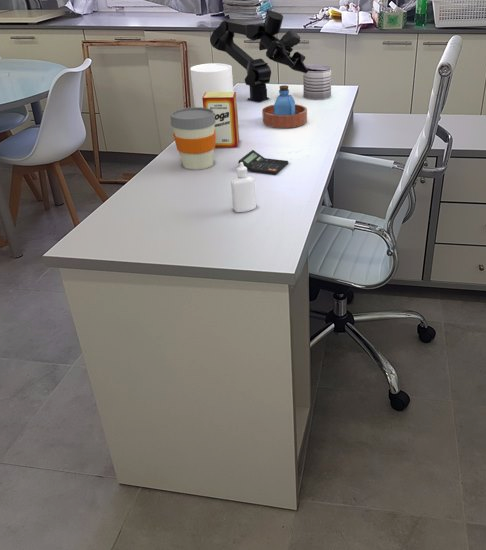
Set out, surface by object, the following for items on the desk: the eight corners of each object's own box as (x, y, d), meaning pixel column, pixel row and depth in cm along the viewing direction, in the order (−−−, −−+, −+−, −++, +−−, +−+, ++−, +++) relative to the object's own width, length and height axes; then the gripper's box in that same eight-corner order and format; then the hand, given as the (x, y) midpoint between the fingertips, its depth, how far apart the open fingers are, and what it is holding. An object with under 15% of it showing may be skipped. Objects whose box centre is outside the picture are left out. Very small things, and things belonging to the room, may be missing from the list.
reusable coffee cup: (226, 158, 171) (222, 108, 163) (207, 173, 161) (201, 121, 153) (189, 154, 175) (183, 105, 167) (168, 169, 165) (161, 117, 157)
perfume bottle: (291, 124, 199) (290, 88, 193) (274, 123, 200) (272, 88, 194) (295, 118, 204) (294, 84, 198) (278, 118, 205) (277, 84, 199)
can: (301, 93, 237) (301, 63, 230) (329, 92, 238) (329, 62, 231) (305, 100, 227) (304, 69, 221) (333, 99, 228) (333, 68, 222)
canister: (189, 131, 195) (182, 70, 185) (209, 120, 206) (203, 62, 195) (224, 135, 191) (218, 73, 180) (242, 123, 201) (238, 64, 191)
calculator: (275, 175, 160) (275, 164, 158) (238, 170, 163) (237, 160, 161) (288, 163, 167) (287, 153, 165) (252, 159, 170) (251, 149, 169)
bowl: (253, 123, 202) (253, 110, 199) (283, 113, 212) (282, 101, 209) (287, 131, 193) (286, 118, 191) (315, 120, 203) (315, 108, 201)
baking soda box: (239, 140, 186) (235, 90, 177) (237, 147, 180) (233, 95, 172) (210, 141, 186) (205, 91, 177) (207, 147, 180) (202, 96, 172)
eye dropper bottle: (234, 205, 142) (230, 159, 136) (256, 205, 142) (253, 159, 136) (232, 212, 139) (228, 166, 132) (255, 212, 139) (252, 165, 132)
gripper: (270, 17, 200) (298, 41, 194) (299, 33, 216) (326, 56, 210) (254, 45, 205) (281, 70, 199) (283, 59, 220) (309, 82, 215)
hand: (300, 69), depth 206 cm, fingers open, 9 cm apart
